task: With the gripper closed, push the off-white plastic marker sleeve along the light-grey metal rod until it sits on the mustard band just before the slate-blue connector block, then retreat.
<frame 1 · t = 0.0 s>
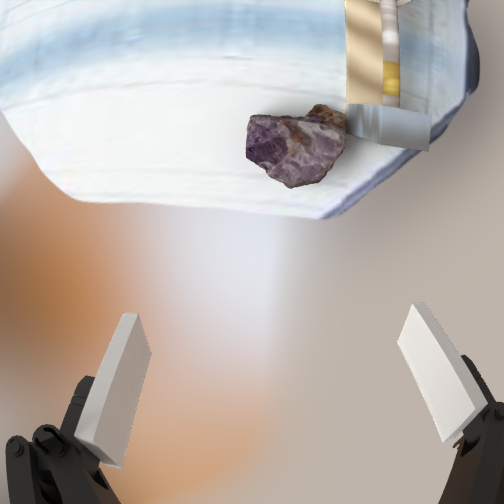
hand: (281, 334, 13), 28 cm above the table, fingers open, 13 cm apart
rock: (292, 140, 35), on the table
rail: (366, 32, 28), on the table
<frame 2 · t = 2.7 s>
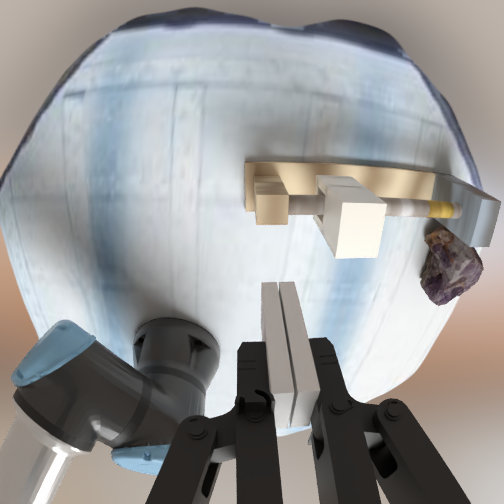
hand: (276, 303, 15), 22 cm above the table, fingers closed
rock: (439, 252, 40), on the table
rail: (362, 187, 35), on the table
sleeve: (345, 212, 27), point 9 cm above the table, slide at 0.0 cm
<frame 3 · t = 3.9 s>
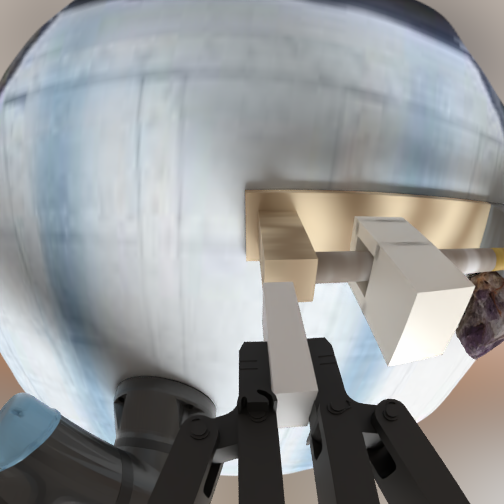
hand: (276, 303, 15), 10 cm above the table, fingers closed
rock: (479, 293, 30), on the table
rail: (406, 224, 24), on the table
sleeve: (399, 281, 16), point 9 cm above the table, slide at 0.0 cm
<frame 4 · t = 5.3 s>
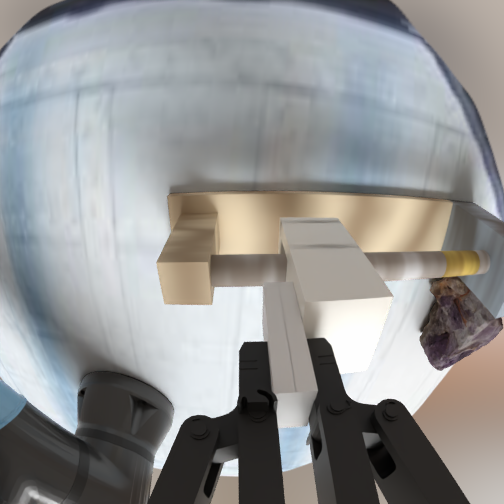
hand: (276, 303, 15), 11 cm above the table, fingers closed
rock: (447, 299, 30), on the table
rail: (347, 225, 25), on the table
sleeve: (320, 287, 17), point 9 cm above the table, slide at 0.9 cm, touching gripper
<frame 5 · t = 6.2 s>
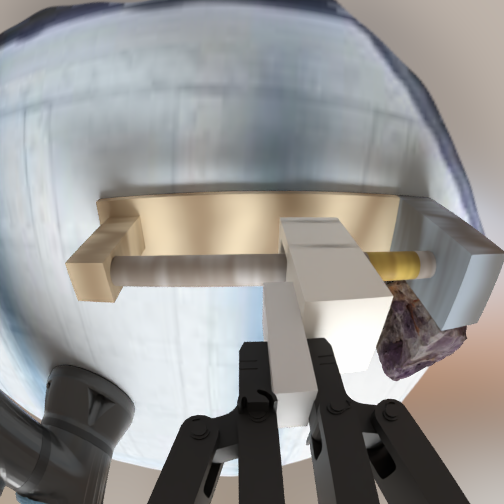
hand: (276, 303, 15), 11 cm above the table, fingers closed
rock: (406, 304, 30), on the table
rail: (273, 225, 24), on the table
sleeve: (320, 286, 17), point 9 cm above the table, slide at 7.5 cm, touching gripper
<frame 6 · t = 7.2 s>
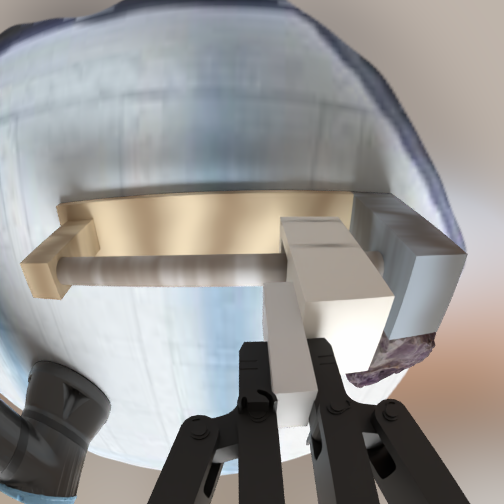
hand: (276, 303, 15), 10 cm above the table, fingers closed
rock: (373, 307, 29), on the table
rail: (218, 225, 24), on the table
sleeve: (321, 286, 16), point 9 cm above the table, slide at 12.0 cm, touching gripper
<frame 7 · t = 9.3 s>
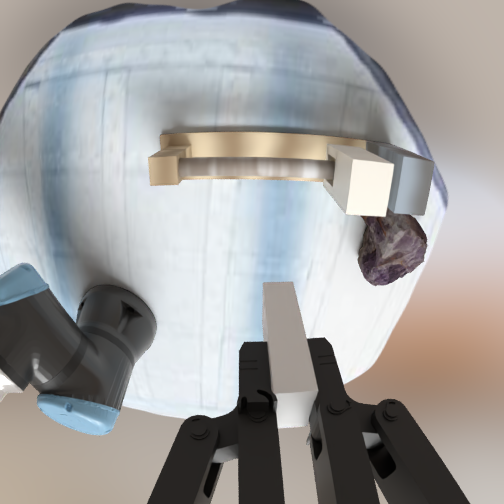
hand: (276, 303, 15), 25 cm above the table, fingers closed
rock: (381, 228, 40), on the table
rail: (280, 155, 35), on the table
sleeve: (354, 176, 27), point 9 cm above the table, slide at 12.2 cm
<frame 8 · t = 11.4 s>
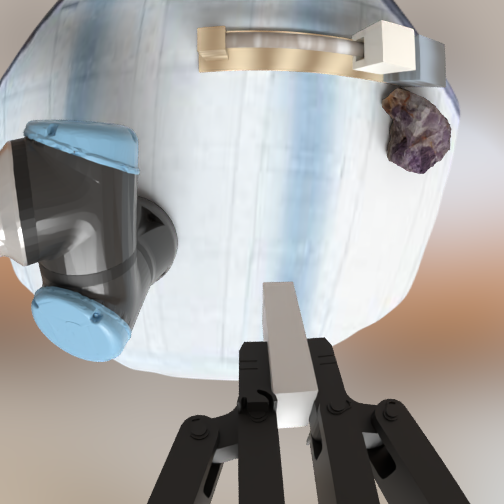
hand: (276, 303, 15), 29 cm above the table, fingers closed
rock: (404, 127, 38), on the table
rail: (309, 53, 32), on the table
sleeve: (381, 50, 25), point 9 cm above the table, slide at 12.2 cm
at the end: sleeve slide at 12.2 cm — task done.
